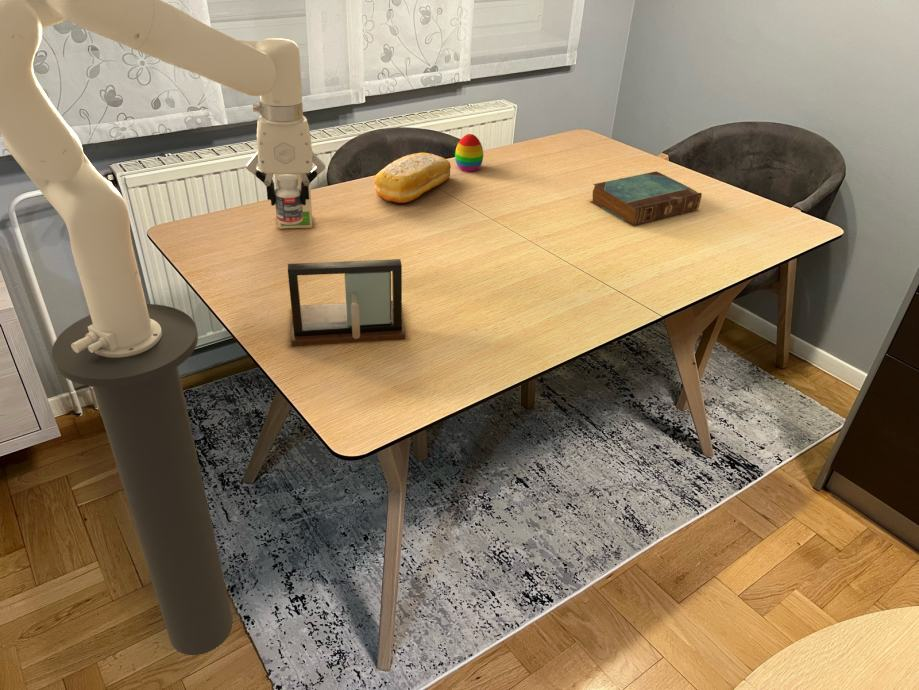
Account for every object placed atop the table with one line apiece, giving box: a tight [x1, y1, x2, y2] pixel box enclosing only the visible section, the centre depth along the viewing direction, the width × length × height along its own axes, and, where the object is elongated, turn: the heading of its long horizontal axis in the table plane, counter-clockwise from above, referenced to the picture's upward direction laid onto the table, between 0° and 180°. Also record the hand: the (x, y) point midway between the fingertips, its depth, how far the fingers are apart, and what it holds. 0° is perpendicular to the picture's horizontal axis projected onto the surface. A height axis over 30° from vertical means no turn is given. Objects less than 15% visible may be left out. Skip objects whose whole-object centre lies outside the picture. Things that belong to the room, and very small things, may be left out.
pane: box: [344, 271, 390, 339], centre depth 131 cm, size 7×8×11 cm
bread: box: [374, 152, 452, 204], centre depth 196 cm, size 13×26×8 cm, turn 154°
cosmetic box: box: [273, 174, 313, 229], centre depth 173 cm, size 8×7×16 cm
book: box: [590, 170, 703, 227], centre depth 194 cm, size 23×18×5 cm
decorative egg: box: [454, 133, 484, 172], centre depth 210 cm, size 8×8×10 cm
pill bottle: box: [274, 174, 303, 225], centre depth 145 cm, size 5×5×9 cm
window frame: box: [287, 258, 406, 347], centre depth 137 cm, size 12×21×15 cm, turn 100°
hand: (288, 201), depth 145 cm, fingers closed on pill bottle, 5 cm apart
